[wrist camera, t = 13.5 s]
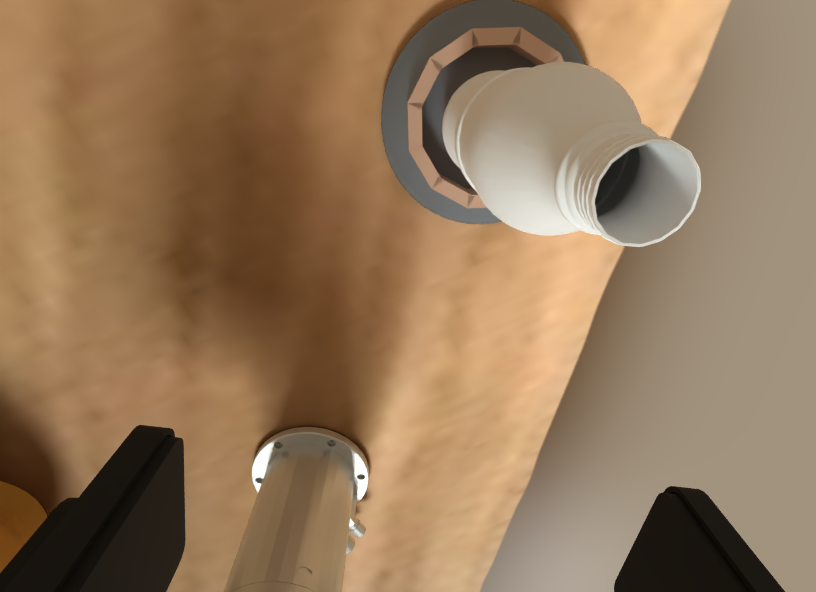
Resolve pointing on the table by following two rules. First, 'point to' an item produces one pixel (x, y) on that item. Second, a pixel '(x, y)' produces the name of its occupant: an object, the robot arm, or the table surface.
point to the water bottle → (568, 155)
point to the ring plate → (438, 80)
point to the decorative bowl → (17, 520)
